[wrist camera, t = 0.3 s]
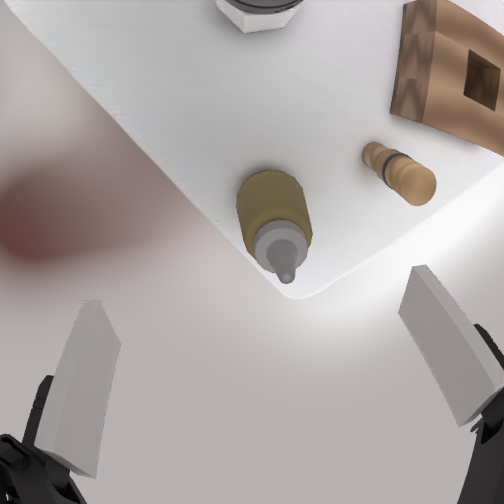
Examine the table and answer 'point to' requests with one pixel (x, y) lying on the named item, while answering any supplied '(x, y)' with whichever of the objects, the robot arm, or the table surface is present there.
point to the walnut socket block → (451, 73)
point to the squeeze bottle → (275, 222)
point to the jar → (259, 13)
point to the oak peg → (401, 173)
